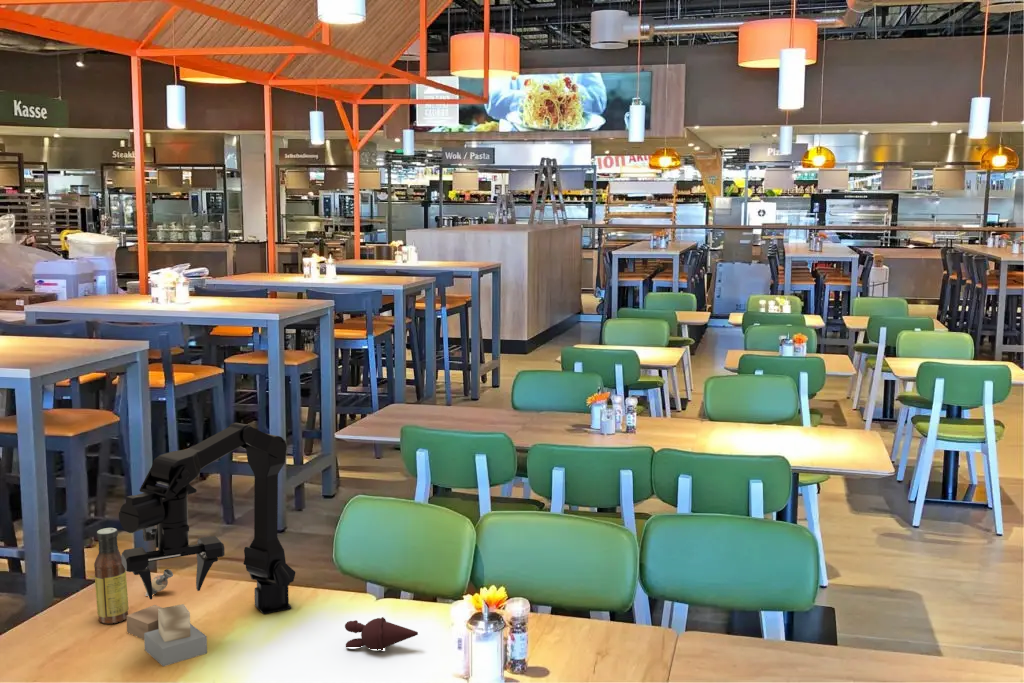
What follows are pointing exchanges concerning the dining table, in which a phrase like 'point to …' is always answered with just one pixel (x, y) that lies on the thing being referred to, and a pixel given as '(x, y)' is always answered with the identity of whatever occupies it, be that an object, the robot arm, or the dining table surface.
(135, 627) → the walnut block
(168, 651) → the slate block
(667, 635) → the dining table surface
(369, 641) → the icecream
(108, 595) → the sauce bottle
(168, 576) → the vase
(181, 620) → the birch cube
